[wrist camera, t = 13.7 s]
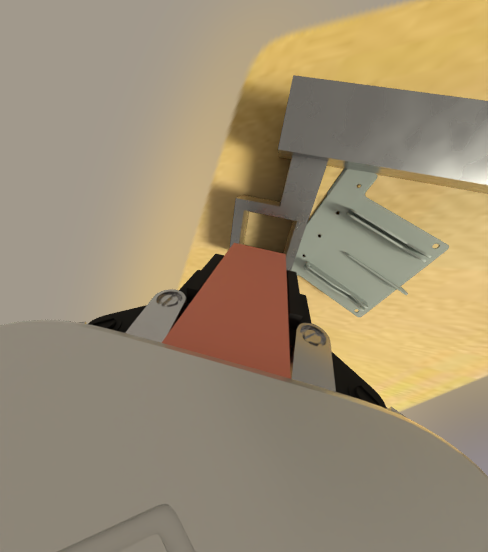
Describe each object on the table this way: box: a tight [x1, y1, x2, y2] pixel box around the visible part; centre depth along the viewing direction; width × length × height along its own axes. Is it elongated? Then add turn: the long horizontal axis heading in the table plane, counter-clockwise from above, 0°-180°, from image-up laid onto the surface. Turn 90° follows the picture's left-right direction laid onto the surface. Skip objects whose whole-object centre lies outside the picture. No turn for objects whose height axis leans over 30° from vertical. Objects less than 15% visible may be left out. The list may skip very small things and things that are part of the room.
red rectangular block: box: [162, 243, 291, 379], centre depth 8 cm, size 4×4×10 cm
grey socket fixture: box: [230, 75, 488, 271], centre depth 17 cm, size 16×25×6 cm, turn 81°
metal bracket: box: [291, 169, 449, 317], centre depth 21 cm, size 14×6×15 cm
